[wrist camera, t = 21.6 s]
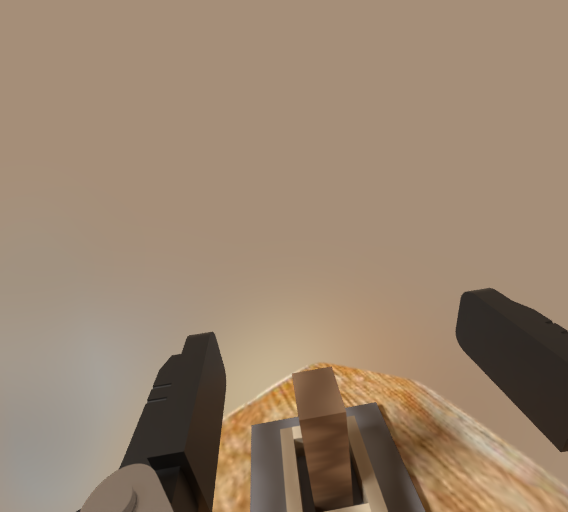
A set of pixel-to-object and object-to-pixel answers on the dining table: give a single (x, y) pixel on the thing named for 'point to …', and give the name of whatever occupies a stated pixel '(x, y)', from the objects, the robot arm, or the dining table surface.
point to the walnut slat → (324, 438)
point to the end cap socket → (363, 461)
